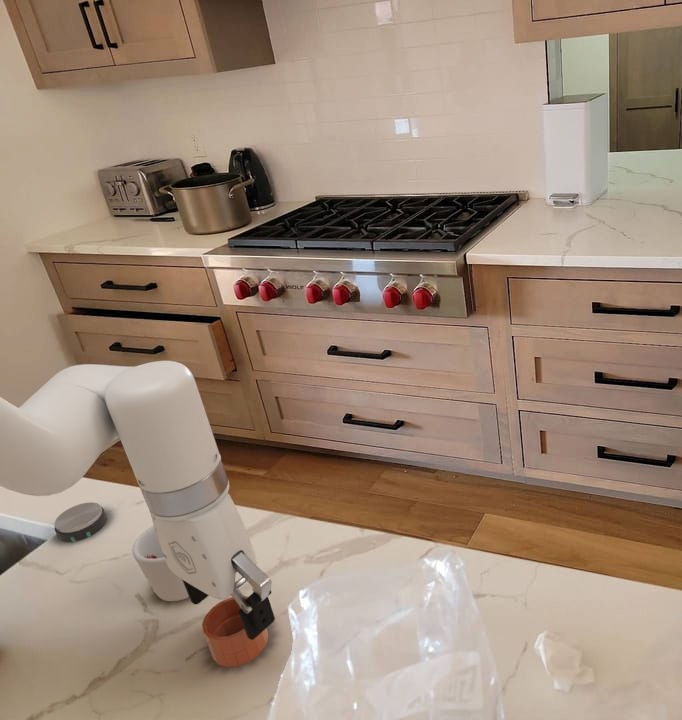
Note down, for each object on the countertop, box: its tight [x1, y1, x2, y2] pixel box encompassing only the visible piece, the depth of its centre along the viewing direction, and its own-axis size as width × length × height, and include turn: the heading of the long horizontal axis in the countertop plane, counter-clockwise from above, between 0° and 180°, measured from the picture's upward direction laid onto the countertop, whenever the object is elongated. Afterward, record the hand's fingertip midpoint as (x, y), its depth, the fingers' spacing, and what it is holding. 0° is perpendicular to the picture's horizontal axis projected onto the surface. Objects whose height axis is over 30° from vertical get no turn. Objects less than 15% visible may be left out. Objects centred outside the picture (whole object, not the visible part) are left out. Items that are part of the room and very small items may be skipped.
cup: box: [132, 524, 189, 602], centre depth 85 cm, size 11×8×8 cm
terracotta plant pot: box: [201, 595, 269, 668], centre depth 75 cm, size 6×6×5 cm
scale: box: [54, 502, 108, 543], centre depth 97 cm, size 6×6×3 cm
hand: (232, 611), depth 74 cm, fingers open, 9 cm apart
